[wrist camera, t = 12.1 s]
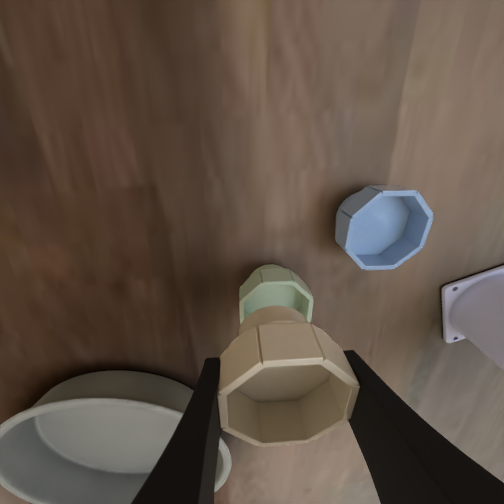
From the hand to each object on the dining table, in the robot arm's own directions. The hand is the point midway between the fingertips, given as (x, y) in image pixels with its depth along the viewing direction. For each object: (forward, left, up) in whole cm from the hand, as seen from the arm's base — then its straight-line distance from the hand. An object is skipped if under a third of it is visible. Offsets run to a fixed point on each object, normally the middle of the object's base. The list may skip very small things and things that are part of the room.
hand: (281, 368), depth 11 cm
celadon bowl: (0, +2, -10) cm, 11 cm away
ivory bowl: (0, 0, -2) cm, 2 cm away
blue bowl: (-9, -1, -10) cm, 14 cm away
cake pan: (+23, +15, -11) cm, 30 cm away
